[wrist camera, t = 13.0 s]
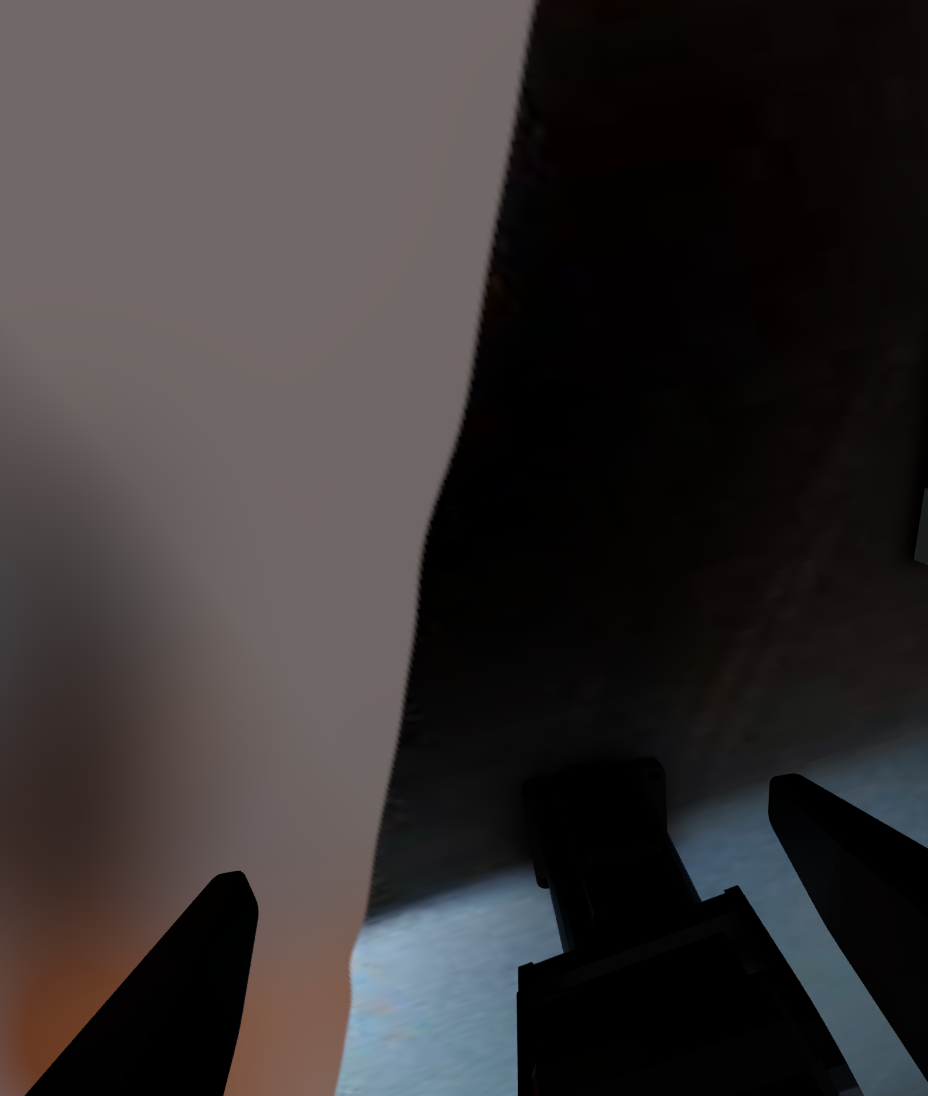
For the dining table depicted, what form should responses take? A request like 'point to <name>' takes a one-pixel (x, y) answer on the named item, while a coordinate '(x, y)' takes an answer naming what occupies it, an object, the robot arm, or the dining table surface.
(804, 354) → the dining table surface
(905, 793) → the dining table surface
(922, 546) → the teal stand
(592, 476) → the dining table surface
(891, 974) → the robot arm
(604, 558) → the dining table surface
